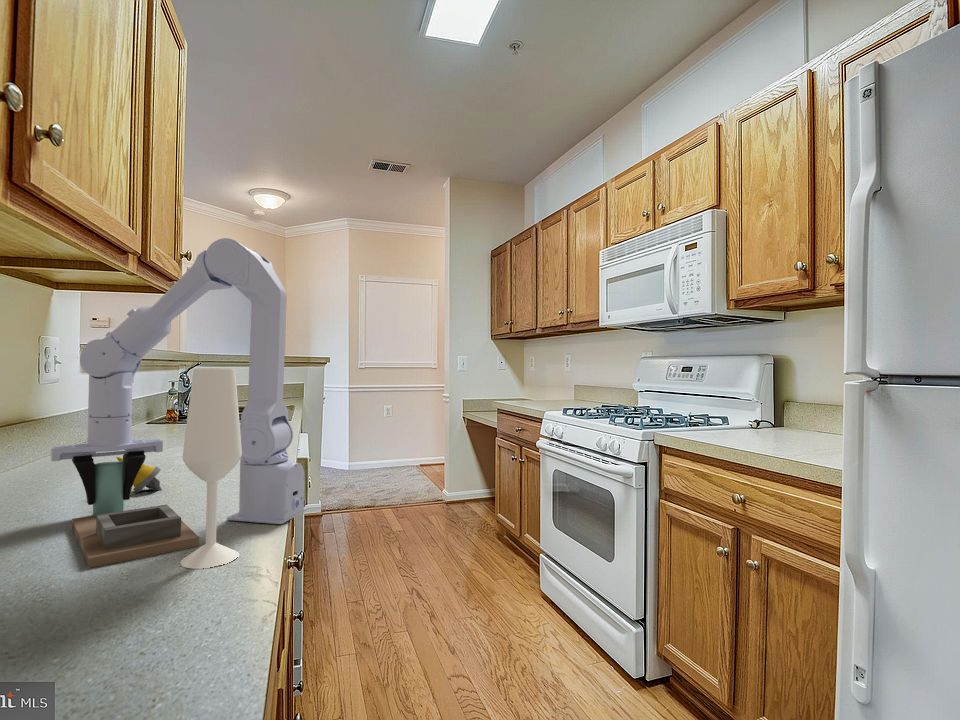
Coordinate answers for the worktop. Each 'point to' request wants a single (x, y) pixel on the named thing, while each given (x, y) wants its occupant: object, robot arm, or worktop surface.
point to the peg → (108, 487)
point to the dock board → (131, 535)
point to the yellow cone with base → (146, 478)
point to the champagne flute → (212, 450)
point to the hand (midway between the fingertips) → (108, 501)
